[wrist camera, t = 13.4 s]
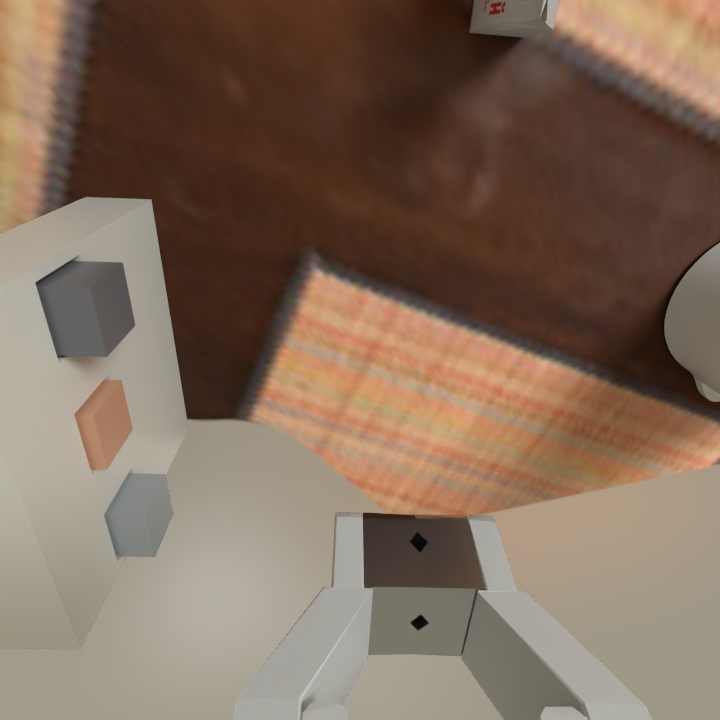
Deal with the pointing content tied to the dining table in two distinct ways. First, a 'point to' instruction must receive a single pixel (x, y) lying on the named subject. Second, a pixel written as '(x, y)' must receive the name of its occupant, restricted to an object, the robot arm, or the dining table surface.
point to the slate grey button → (139, 515)
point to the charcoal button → (86, 307)
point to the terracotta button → (104, 423)
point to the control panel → (58, 424)
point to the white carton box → (513, 17)
